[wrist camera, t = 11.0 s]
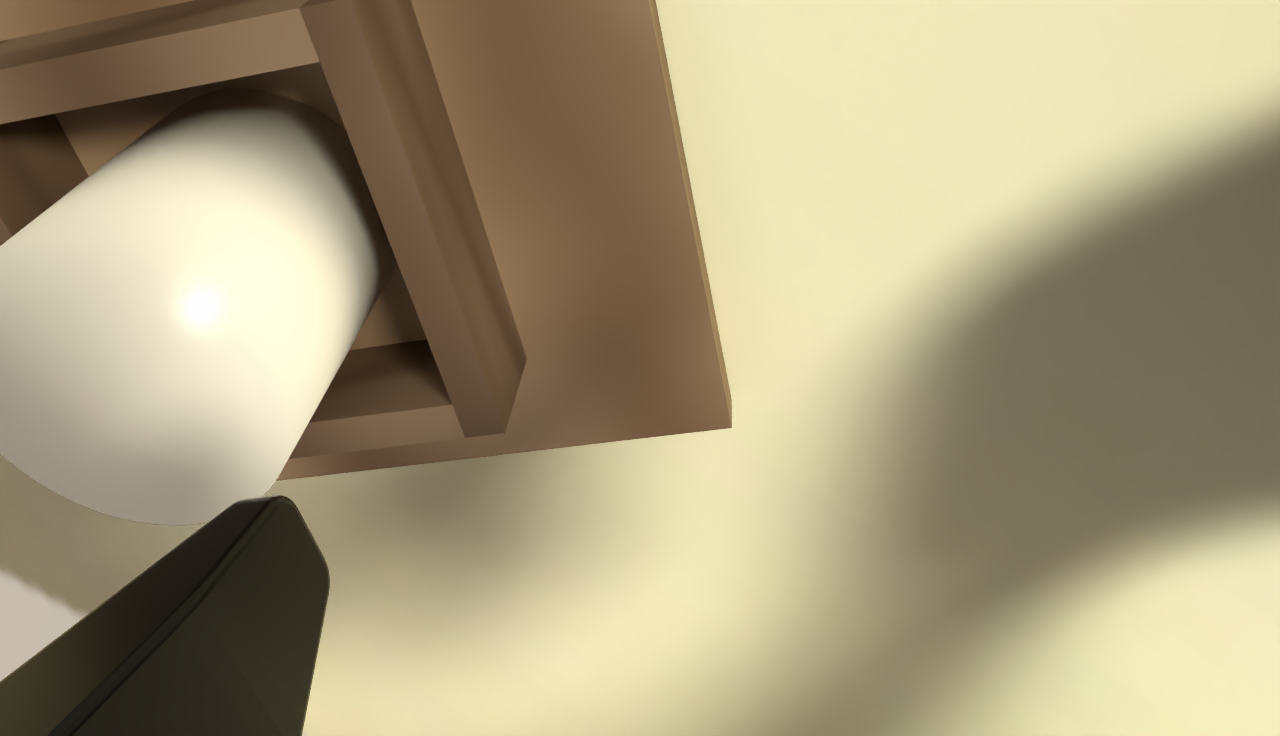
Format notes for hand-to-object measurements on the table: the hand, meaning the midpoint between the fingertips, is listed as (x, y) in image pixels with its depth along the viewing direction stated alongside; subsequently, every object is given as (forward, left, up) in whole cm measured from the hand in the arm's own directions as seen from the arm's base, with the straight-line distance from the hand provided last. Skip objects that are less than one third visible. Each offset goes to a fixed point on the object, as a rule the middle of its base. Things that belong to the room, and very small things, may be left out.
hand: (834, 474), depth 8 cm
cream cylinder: (+10, +2, -11) cm, 15 cm away
